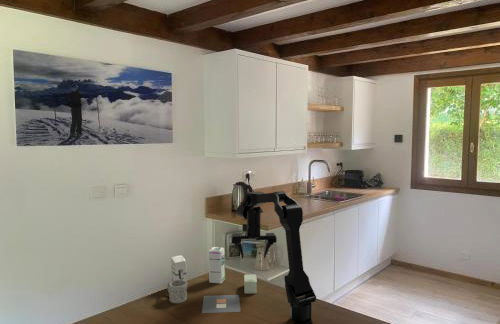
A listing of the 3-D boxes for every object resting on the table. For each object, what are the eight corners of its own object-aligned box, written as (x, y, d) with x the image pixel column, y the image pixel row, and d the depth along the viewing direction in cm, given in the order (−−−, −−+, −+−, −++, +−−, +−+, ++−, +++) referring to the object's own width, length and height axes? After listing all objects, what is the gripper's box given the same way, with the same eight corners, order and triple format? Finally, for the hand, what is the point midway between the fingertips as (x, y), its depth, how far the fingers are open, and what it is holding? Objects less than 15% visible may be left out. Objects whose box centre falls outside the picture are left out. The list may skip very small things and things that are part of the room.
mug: (190, 299, 143) (190, 283, 142) (176, 305, 138) (175, 288, 137) (175, 292, 149) (175, 276, 149) (161, 297, 145) (161, 280, 144)
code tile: (238, 295, 146) (238, 294, 146) (240, 312, 132) (240, 311, 132) (203, 296, 145) (203, 295, 145) (201, 313, 131) (201, 312, 131)
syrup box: (221, 284, 157) (221, 251, 156) (208, 282, 158) (208, 250, 157) (225, 278, 163) (225, 247, 162) (212, 277, 164) (212, 246, 163)
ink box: (171, 282, 158) (170, 256, 157) (182, 281, 160) (182, 254, 160) (175, 290, 150) (175, 262, 150) (187, 288, 153) (187, 260, 152)
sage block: (256, 285, 156) (256, 274, 155) (256, 293, 148) (256, 281, 147) (244, 285, 156) (244, 274, 155) (244, 294, 148) (244, 282, 147)
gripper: (272, 216, 161) (272, 251, 163) (230, 217, 160) (230, 252, 161) (276, 223, 150) (276, 260, 151) (231, 223, 149) (231, 261, 150)
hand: (253, 258), depth 154 cm, fingers open, 9 cm apart
